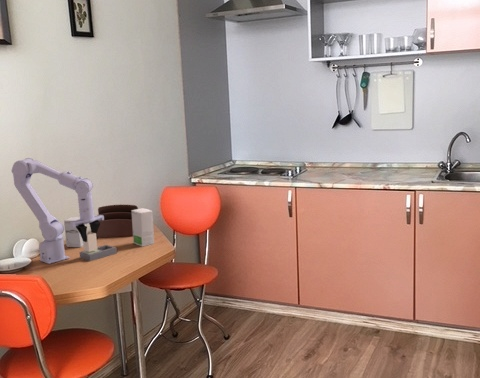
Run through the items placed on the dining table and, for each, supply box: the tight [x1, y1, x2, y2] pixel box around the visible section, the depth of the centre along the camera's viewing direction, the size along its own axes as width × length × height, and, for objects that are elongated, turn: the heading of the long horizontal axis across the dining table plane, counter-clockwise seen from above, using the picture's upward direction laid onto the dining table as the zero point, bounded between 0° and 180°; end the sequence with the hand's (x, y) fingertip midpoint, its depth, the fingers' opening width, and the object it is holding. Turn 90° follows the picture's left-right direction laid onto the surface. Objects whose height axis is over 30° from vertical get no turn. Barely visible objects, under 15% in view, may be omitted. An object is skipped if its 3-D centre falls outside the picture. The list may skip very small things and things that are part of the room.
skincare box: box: [131, 207, 155, 247], centre depth 242 cm, size 8×7×16 cm
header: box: [79, 244, 118, 262], centre depth 229 cm, size 13×8×3 cm, turn 137°
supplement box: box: [63, 216, 88, 248], centre depth 246 cm, size 7×7×13 cm
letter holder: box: [96, 204, 139, 239], centre depth 262 cm, size 10×20×14 cm, turn 89°
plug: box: [83, 231, 98, 252], centre depth 225 cm, size 4×4×7 cm
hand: (89, 240), depth 225 cm, fingers closed on plug, 4 cm apart
